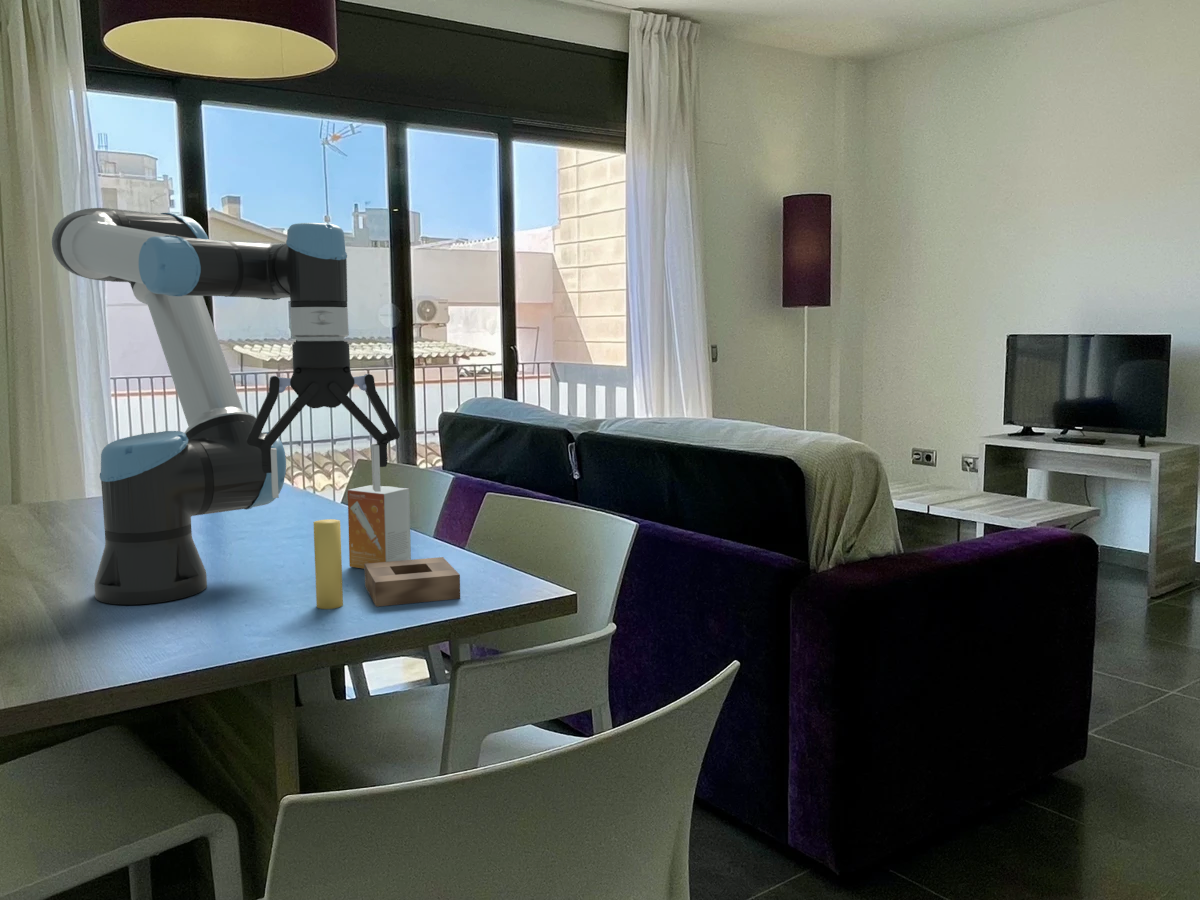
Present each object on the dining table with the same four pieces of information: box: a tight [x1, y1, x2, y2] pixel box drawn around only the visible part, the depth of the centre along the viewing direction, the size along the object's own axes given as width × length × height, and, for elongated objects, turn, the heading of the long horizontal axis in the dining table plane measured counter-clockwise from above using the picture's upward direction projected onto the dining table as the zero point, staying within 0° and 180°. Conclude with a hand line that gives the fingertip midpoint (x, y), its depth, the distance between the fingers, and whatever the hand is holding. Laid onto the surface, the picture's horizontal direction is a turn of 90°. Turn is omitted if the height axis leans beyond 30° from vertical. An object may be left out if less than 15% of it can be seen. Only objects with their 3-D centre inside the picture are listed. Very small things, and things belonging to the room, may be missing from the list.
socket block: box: [364, 556, 461, 607], centre depth 144 cm, size 12×12×4 cm
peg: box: [313, 518, 344, 610], centre depth 136 cm, size 4×4×12 cm
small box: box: [347, 484, 412, 570], centre depth 159 cm, size 8×6×13 cm
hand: (326, 493), depth 135 cm, fingers open, 13 cm apart
